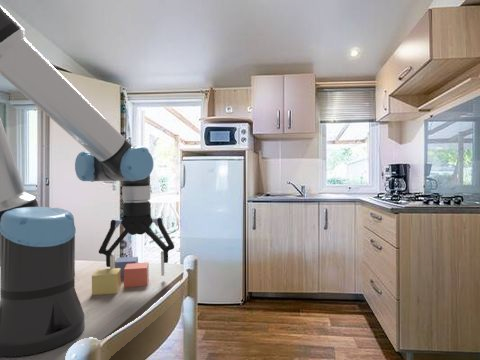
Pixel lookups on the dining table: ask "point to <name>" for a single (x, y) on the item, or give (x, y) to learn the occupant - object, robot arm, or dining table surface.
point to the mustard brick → (106, 281)
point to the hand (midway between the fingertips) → (138, 276)
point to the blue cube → (125, 263)
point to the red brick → (136, 274)
